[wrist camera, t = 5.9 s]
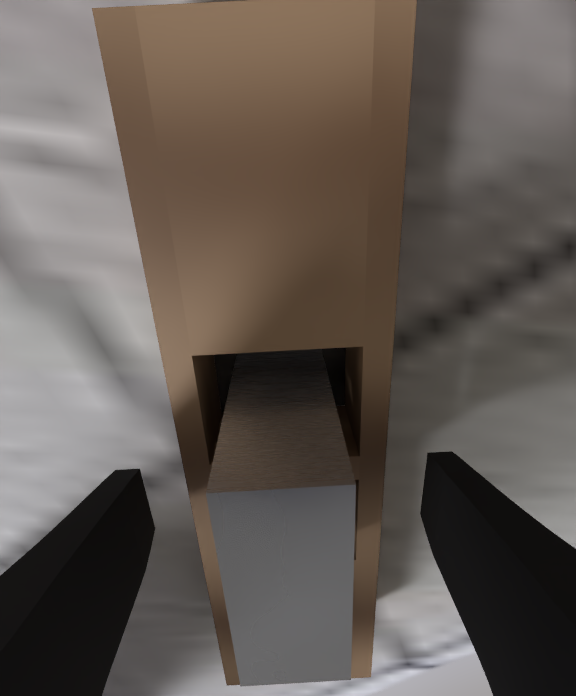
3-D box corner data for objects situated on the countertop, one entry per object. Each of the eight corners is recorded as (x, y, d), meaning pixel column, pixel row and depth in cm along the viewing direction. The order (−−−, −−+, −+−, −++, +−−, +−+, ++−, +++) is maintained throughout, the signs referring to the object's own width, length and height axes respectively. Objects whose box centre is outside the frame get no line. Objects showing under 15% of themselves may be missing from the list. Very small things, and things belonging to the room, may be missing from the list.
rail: (358, 609, 17) (370, 677, 15) (233, 616, 17) (227, 685, 15) (380, 39, 9) (417, -9, 6) (140, 52, 9) (91, 8, 6)
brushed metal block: (321, 481, 14) (351, 679, 8) (254, 485, 14) (240, 685, 8) (318, 339, 12) (355, 484, 6) (239, 344, 12) (205, 493, 6)
